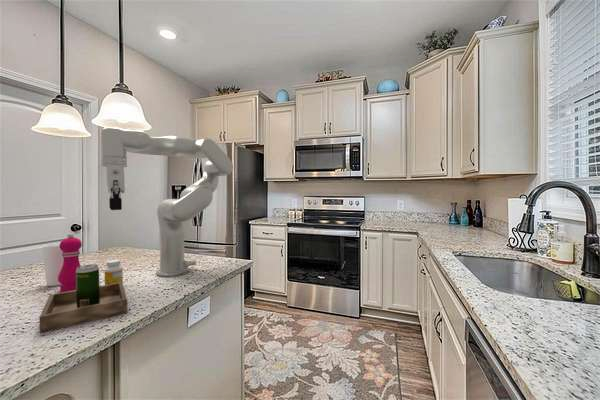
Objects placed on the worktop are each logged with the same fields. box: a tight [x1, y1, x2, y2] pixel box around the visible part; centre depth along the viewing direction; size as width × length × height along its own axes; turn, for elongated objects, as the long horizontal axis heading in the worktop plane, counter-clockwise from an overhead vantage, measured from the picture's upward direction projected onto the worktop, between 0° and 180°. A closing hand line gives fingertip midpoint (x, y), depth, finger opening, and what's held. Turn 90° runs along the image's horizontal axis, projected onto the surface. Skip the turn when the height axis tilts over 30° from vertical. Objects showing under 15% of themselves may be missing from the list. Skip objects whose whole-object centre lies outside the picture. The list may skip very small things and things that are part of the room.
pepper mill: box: [58, 232, 83, 293], centre depth 95 cm, size 7×7×20 cm
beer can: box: [76, 263, 101, 308], centre depth 78 cm, size 5×5×12 cm
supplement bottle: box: [104, 259, 124, 285], centre depth 96 cm, size 5×5×10 cm
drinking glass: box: [42, 242, 64, 287], centre depth 100 cm, size 7×7×15 cm
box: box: [39, 282, 128, 334], centre depth 78 cm, size 18×18×4 cm
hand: (115, 209), depth 98 cm, fingers open, 9 cm apart
